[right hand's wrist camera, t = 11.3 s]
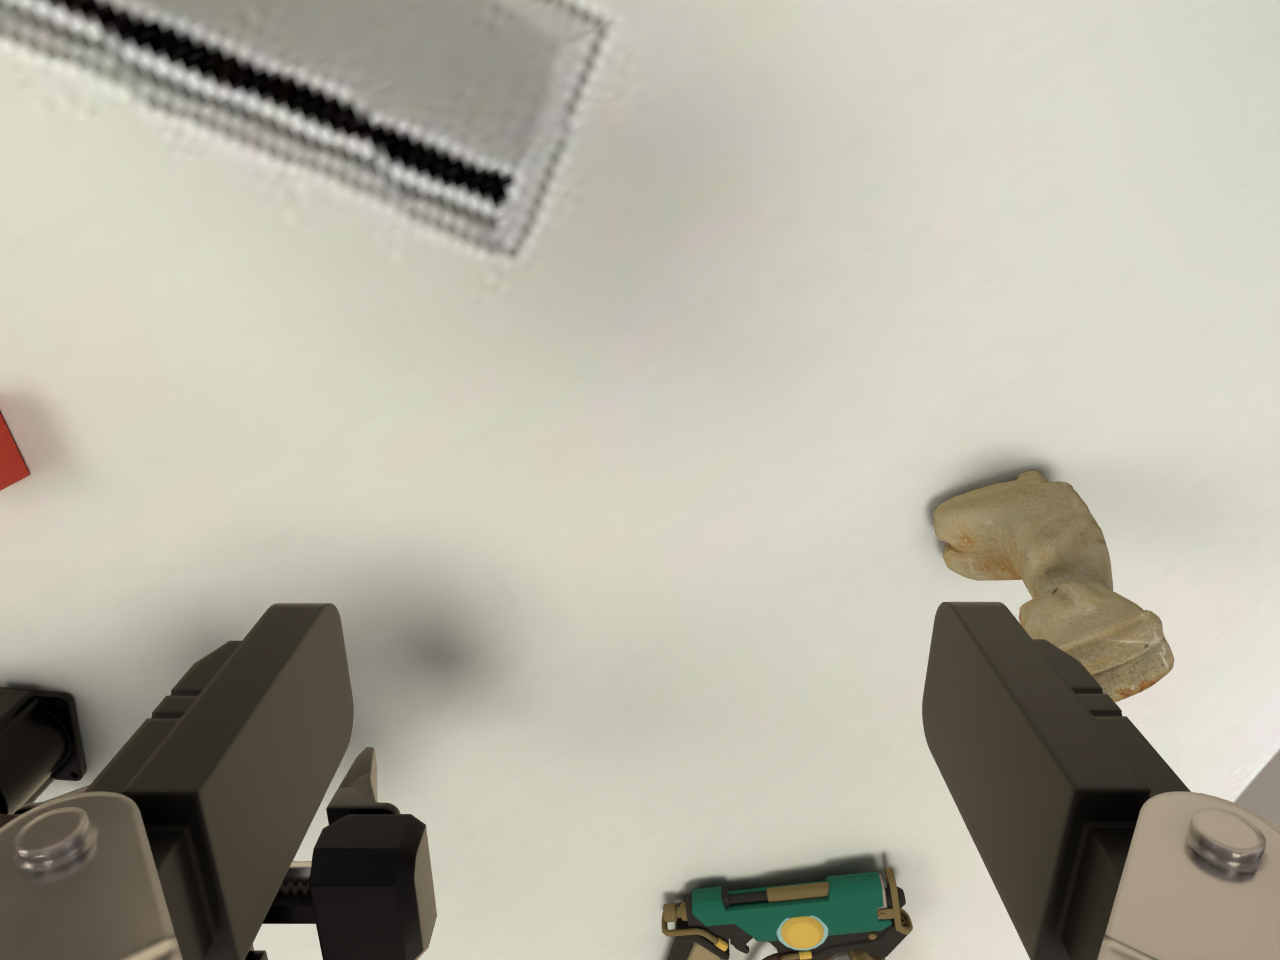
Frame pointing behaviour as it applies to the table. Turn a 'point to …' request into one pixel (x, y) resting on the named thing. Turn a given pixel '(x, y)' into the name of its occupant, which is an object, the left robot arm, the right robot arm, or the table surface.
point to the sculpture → (1056, 576)
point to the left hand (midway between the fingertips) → (280, 754)
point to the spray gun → (793, 919)
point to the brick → (10, 459)
